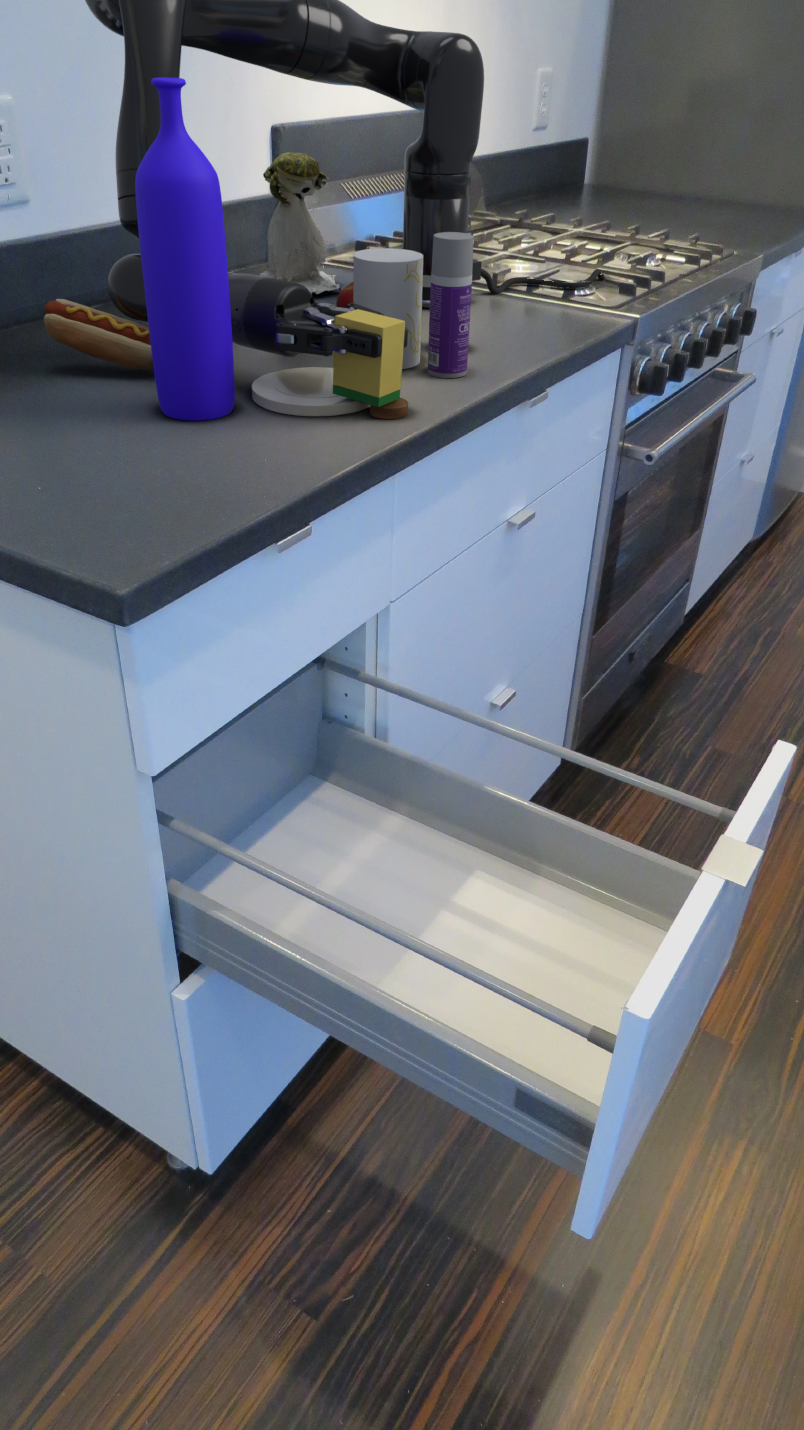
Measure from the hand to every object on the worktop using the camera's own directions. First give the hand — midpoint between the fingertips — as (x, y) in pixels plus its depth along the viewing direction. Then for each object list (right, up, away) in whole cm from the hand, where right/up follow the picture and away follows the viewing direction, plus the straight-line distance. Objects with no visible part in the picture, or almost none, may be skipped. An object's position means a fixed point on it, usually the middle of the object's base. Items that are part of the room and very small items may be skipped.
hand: (392, 342), depth 105 cm
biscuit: (0, -6, +5) cm, 8 cm away
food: (-33, +4, +15) cm, 37 cm away
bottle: (-21, -6, +5) cm, 22 cm away
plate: (-9, -3, +9) cm, 13 cm away
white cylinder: (-1, +5, +22) cm, 22 cm away
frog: (-14, +27, +53) cm, 61 cm away
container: (+6, +3, +18) cm, 19 cm away
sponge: (-3, -4, +5) cm, 7 cm away
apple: (-3, +10, +29) cm, 30 cm away
